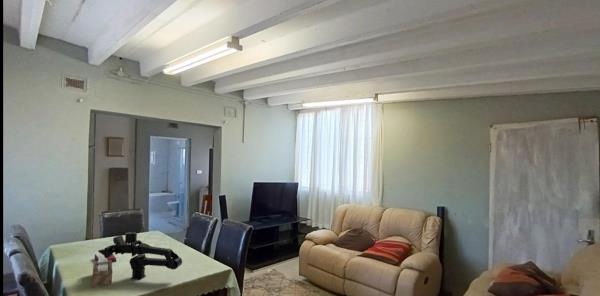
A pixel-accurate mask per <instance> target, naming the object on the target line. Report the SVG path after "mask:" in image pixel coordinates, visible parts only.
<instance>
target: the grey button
mask: <svg viewBox="0 0 600 296" xmlns="http://www.w3.org/2000/svg"><path fill="white" fill-rule="evenodd" d="M105 264H108V259H102V260H98V265H105Z"/></svg>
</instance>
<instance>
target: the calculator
mask: <svg viewBox="0 0 600 296" xmlns="http://www.w3.org/2000/svg"><path fill="white" fill-rule="evenodd" d="M102 259H108V260H112V263H116V262H117V257H116V256H115V254H113V255H112V256H111V257H109V258H105V257H104V255H103V254H101V253H99V252H98V253H95V254H94V260H95V262H98V260H102Z"/></svg>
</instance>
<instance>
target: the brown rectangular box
mask: <svg viewBox="0 0 600 296" xmlns="http://www.w3.org/2000/svg"><path fill="white" fill-rule="evenodd" d="M112 282H113V262H112V260H108V270H107V271H99V272H98V262H96V261H94V262H93V266H92V280H91V288H97V287H104V286H110V285H113V284H112Z"/></svg>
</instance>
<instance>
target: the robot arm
mask: <svg viewBox="0 0 600 296" xmlns="http://www.w3.org/2000/svg"><path fill="white" fill-rule="evenodd" d="M124 235H125V239H124V237H123V235H122V234H120V235H118V236H115V237H113V240H112V241H113V244H110V245H109V246H106V247H104V249H102V248H101V249H99V250H98V254H99V253H101V254H103V255H104V257H105V258H109V257H111V256H112V255H118V254H120V255H125V254H131V258H130V259H129V265H130V267H131V270H132V273H131V277H130V279H133V280H142V279H144V278H145V277H147V274H146V275H145V273H146V272H145V270H146V266H153V267H166V268H167V269H170V270H176V269H178V268H179V267H181V265H182V264H183V260H182V257H180V256H179V255H178V254H177V253H176V252H174V250H173V249H171V248H165V247H157V246H152V245H149V244H147V243H144V242H142V241H141V240H139V239H137V238H138V237H137V236H138V234H137V232H136V231H135V232H134V231H129V232H125V234H124ZM148 254H150V255H155V256H156V255H157V256H164V257H165V258H161V257H160V258H157V257H147V256H146V255H148Z"/></svg>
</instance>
